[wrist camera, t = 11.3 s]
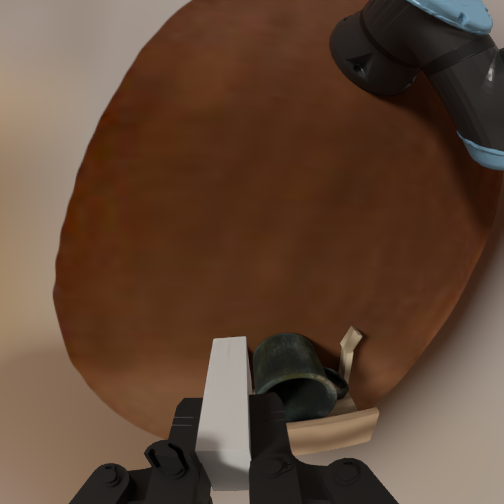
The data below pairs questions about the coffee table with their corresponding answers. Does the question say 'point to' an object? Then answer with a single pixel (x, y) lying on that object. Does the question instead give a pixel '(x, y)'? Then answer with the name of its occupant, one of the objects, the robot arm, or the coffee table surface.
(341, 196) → the coffee table surface
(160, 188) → the coffee table surface
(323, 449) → the wooden u-frame
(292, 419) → the mug
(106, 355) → the coffee table surface
